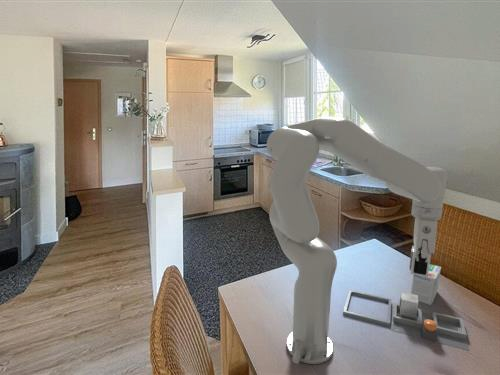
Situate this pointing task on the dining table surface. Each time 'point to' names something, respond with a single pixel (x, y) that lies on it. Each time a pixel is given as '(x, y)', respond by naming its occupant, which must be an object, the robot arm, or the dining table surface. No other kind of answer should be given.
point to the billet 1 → (408, 306)
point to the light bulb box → (426, 285)
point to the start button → (430, 325)
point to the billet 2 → (413, 258)
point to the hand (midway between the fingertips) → (419, 268)
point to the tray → (368, 316)
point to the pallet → (439, 337)
